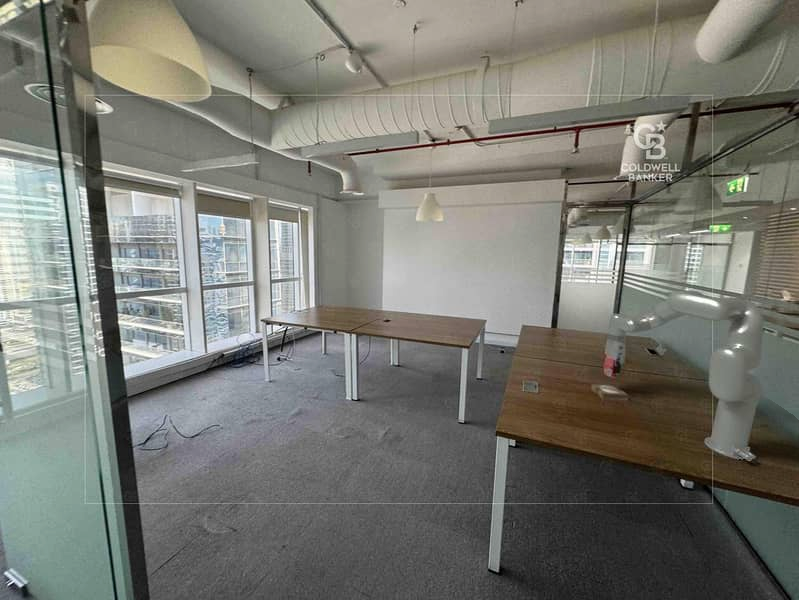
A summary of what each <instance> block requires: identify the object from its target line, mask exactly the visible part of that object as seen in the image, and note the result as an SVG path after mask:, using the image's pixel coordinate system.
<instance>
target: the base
mask: <svg viewBox="0 0 799 600" xmlns="http://www.w3.org/2000/svg"><path fill="white" fill-rule="evenodd" d="M590 386H591V387H590V390H591V391H593V393H595V394H596V393H597V394H598V395H599V396H598V395H597V394H596V395H597V396H598V397H599V398H600V399H602V400H605V401H623V402H628V400H629V397H630V396H629V394H627V393H626V392H625V391H623V390H622V389H620V388H619V387H618V386H616V385H615V384H601V383H600V384H599V383H598V384H597V383H592V384H591V385H590Z"/></svg>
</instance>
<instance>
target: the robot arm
mask: <svg viewBox="0 0 799 600" xmlns="http://www.w3.org/2000/svg"><path fill="white" fill-rule="evenodd" d="M666 298H667V299H666V300H663V301H661V302H659V303H657V304H656V305H655V306H654V310H653V311H650V312H648V313H646V314H643V315H641V316H632V317H628V316H627V315H626V314H621V313H612V314H611V315H610V317H609V322H608V330H607V331H608V332H607V339H606V343H605V349H604V350H603V353H604V358H605V357H606V355H607V353H608V354H610V355H611V357H612V359H613V360H614V364H615V365H614V367H613V373H620V374H621V367H622V366H623V365H624V364H625V362H626V361H625V360H626V338H627V337H626V334H627V333H628V334H629V333H630V334H634V333H635V334H636V333H641V332H647V331H650V330H653V329H655V328H656V329H657V328H659V327H661V326H663V325H665V324H667V323H669V322H670V321H673V320H675V319H677V318H680V317H683V316H685V315H686V316H691V317H694V318H697V319H702V320H705V321H706V320H707V321H713V322H721V321H722V322H723V321H728V320H729V321H730V325H729V328H728V331H727V341H726V345H725V346H721V347H719V348H717V349H715V350H714V351H713V352H712V354H711V356H710V360H709V370H708V371H709V372H708V374H709V375H708V386H709V387H708V388H709V391H710V393H712V395H713V396H714V397H715V398H716V399H718V401H717V402H718V403H717V406H716V411H715V416H714V421H713V427H712V430H711V436H709V437H706V438H704V444H705V445H706V446H707V447H708V448H709V449H711V450H712V451H714V452H716V453H718V454H720V455H723V456H725V457H727V458H731V459H734V460H739V459H741V460H740V461H744V460H743V459H746V460H745V461H747V462H751V461H752V460H755V459H756V457H757V456H756V454H755V455H754V454H753V453H752V452H751V451H750V450H751V447H750V446H748V445H749V442H750V436H751V431H752V428H753V423H754V418H755V414H756V410H757V407H758V404H759V403H760V400H761V397H762V396H763V395H762V394H763V392H764V391H763V390H764V386H763V384H762V382H761V381H762V380H761V381H760V379H759V378H758V377H757V376H756V375H754V374H752V373H749V372H747V371H750V370H753V369H756V368H758V367H759V366H760V365H761V362H762V350H763V349H762V347H763V331H764V316H763V314H762V311H761V310H760V308H759V307H758V306H757V305H755V304H754V303H752V302H750V301H748V300H746V299H745V298H741V297H733V296H732V297H731V296H727V297H718V298H715V297H714V298H713V297H708V296H705V294H704V293H701V292H699V291H697V290H692V289H691V290H678V291H675V292H673V293H671V294H669V295H668V297H666ZM617 359H619V360H617ZM617 361H619V362H618V363H617Z"/></svg>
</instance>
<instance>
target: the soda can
mask: <svg viewBox="0 0 799 600" xmlns="http://www.w3.org/2000/svg"><path fill="white" fill-rule="evenodd" d="M617 360H619V359H617ZM618 362H619V361H617V363H618ZM614 365H615V364H614V360H613V359H612V357H611V355H610V354H608V353H607V355H606V357H605V356H604V365H603V374H604V375H605V376H606V377H609V378H614V379H615V378H617V377H619V376H620V374H621V372H620V373H613V367H614Z"/></svg>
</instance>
